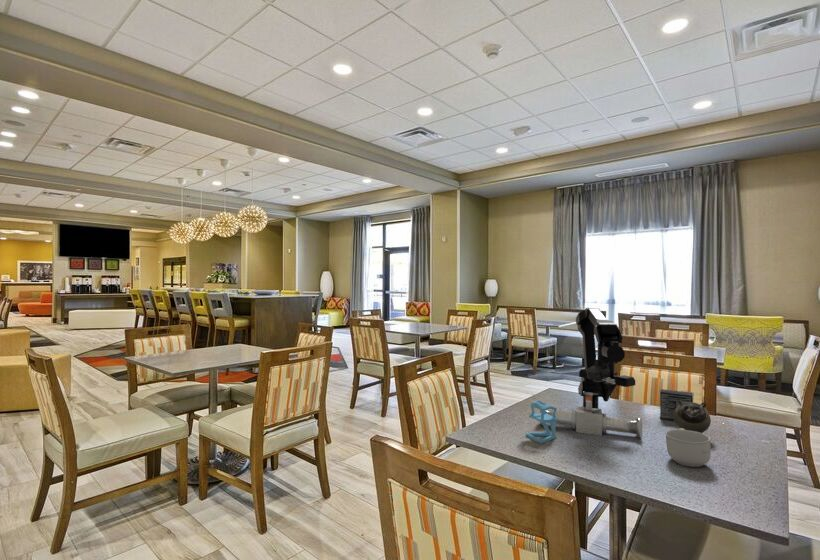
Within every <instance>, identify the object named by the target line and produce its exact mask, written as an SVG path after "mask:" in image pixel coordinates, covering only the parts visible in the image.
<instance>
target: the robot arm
mask: <svg viewBox="0 0 820 560" xmlns="http://www.w3.org/2000/svg"><path fill="white" fill-rule="evenodd" d="M575 323H576V325H577V330H578V332H579V333H580V335H581V336H582V347H583V348H582V350H583V359H584V360H583V361H584V368H581V369H579V371H578V377H579V378H581V380H580V381H579V382H580V383H579V385H578V387H577V388H578V389H577V391H578V394H579V396H580V397H582V407H586V400H585V392H590V393H592V395H593V401H592V408H595V409H600V408H599V398H602V400H603V402H608V401H609V400H610V397H611V396H612V393H613V392H614V390H615V388H616V387H617V386H618V387H623V388H630V387H633V386H636V379H635V377H634V376H629V375H618V372H617V371H616V370H615V369H616V364H618V363H621V362H622V361H623V360H624V358H625V357H626V356H625V355H626V352H625V350H624V349H623V347H621V346H620V345H619V344H622V343H623V336H622V333H621V330H620V327H619V325H618V324H617V323H616V322H615V321H613V320H608V319H607V318H606V317H605V316H604V315H603V313H602V312H601V309H600V308H599V307H596V306H595V307H592V306H591V307H589V306H588V307H585V308H584V310H581V311H579V312H578V313H577V315H576V317H575ZM595 339H596V340H595ZM596 342H597V351H596ZM596 352H597V353H596ZM617 375H618V376H617Z"/></svg>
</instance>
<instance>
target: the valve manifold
mask: <svg viewBox="0 0 820 560" xmlns="http://www.w3.org/2000/svg"><path fill="white" fill-rule="evenodd" d="M553 411H554V410H553V409H547V410H546V414H549V415H551V416H552V414H553ZM539 413H541V411H540V410H539ZM555 417H556V418H558V421H557V422H556V425H563V426H570V427H571V429H572V430H575V433H580V434H587V435H595V436H601V437H602V435H603V434H607V431H609V432H616V433H617V432H618V433H625V434H633V435H635V437H636V438H637V439H642V438H643V421H642V420H643V419H642V418H641V417H638V416H637V417H636V416H635V419H629V418H628V419H626V418H620V417H619V418H618V417H611V416H610V417H609V416H607V414H606V413H603V412H602V409H601V408H599V409H595V408H592V410H586V407H583V406H576V409H572V410H571V412H568V411H561V410H560V411H558V410H556V412H555ZM539 425H540V426H543V424H542V423H541V422H539Z"/></svg>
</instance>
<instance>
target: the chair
mask: <svg viewBox="0 0 820 560" xmlns="http://www.w3.org/2000/svg"><path fill="white" fill-rule="evenodd" d="M529 405H530V409H531V413H529V414H528V418H531V419H534V420H535V421H537V422H539V423H540V422H541V423H542V424H543V425H542V426H543V428H544V430H545V432H526V433H525V436H526V437H527V438H528V439H531V440H533V441H535V442H537V443H539V444H544V443H547V442H550V441H552V440H554V439H557V434H556V433H557V432H556V429H557V428H556V426H557V424H556V422H557V421H558V418H556V417H555V412H556V411H557V409H558V407H557V406H555V407H554V406H553V405H551V404H549V403H548V404H547V402H543V401H541V400H535V401H533V402H531V403H530V404H529ZM534 408H535V409H537V410H539V413H535V409H534ZM546 410H552V411H553V414H552V416H551V415H549V414H546ZM540 411H541V413H540ZM547 424H549V425H550V426H551V431H550V429H549V426H548V425H547ZM538 437H544V438H542V439H541V438H538Z"/></svg>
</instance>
